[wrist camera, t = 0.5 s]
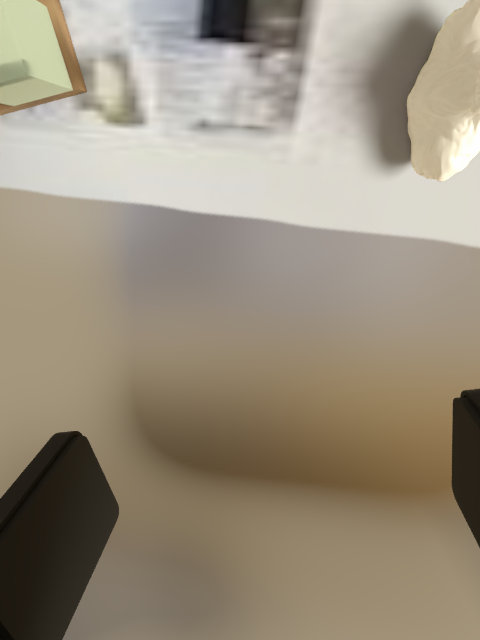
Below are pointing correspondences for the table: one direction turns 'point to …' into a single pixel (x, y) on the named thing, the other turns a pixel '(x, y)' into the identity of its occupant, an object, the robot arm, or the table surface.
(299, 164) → the table surface
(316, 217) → the table surface
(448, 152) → the bust
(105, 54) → the table surface
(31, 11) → the block
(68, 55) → the stand
